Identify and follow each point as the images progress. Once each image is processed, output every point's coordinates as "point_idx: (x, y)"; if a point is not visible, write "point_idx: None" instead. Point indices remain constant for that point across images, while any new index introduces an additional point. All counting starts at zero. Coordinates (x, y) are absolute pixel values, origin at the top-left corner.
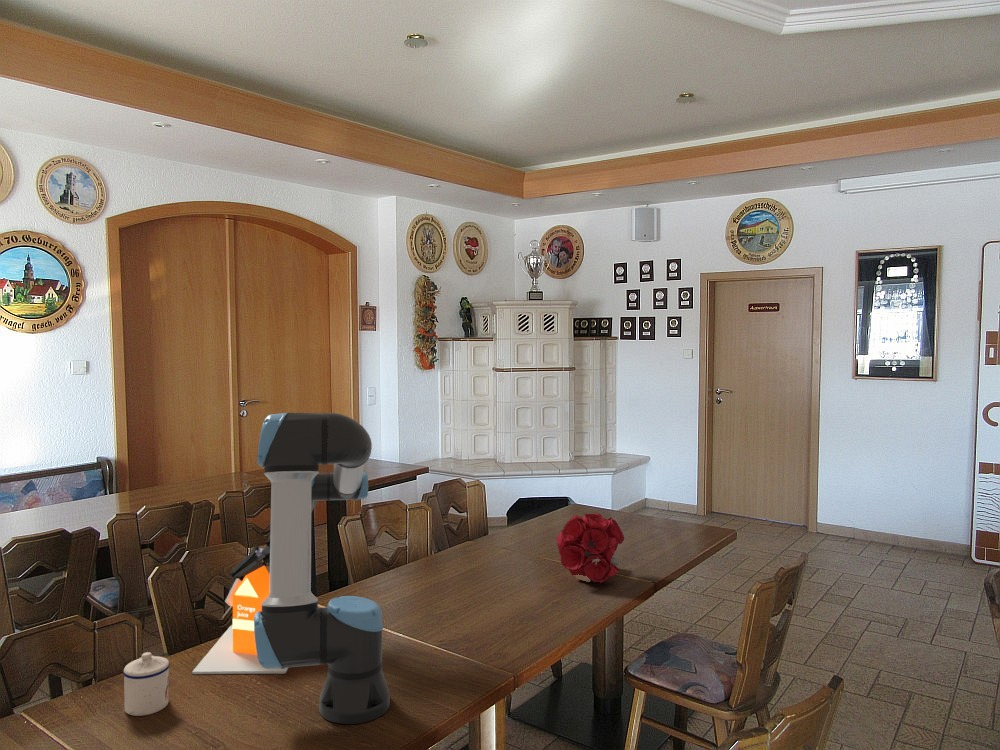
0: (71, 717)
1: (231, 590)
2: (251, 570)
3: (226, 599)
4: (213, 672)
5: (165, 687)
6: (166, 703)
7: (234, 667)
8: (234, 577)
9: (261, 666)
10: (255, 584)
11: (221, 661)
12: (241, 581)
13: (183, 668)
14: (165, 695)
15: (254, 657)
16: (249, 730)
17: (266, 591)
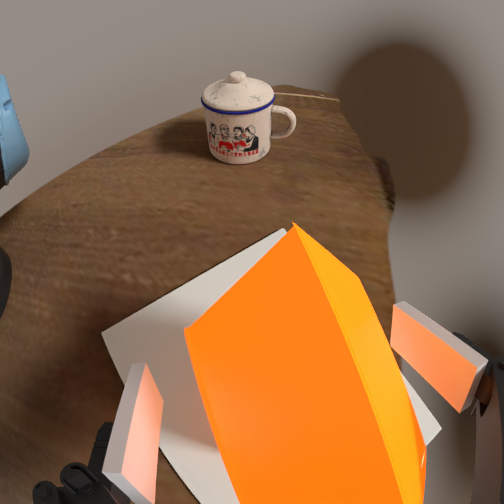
0: (293, 108)
1: (435, 327)
2: (490, 456)
3: (406, 305)
4: (243, 251)
5: (208, 129)
6: (211, 152)
7: (218, 287)
8: (501, 356)
9: (163, 323)
10: (244, 337)
11: None
12: (467, 394)
13: (322, 237)
14: (209, 139)
15: None
16: (68, 184)
17: (220, 424)
